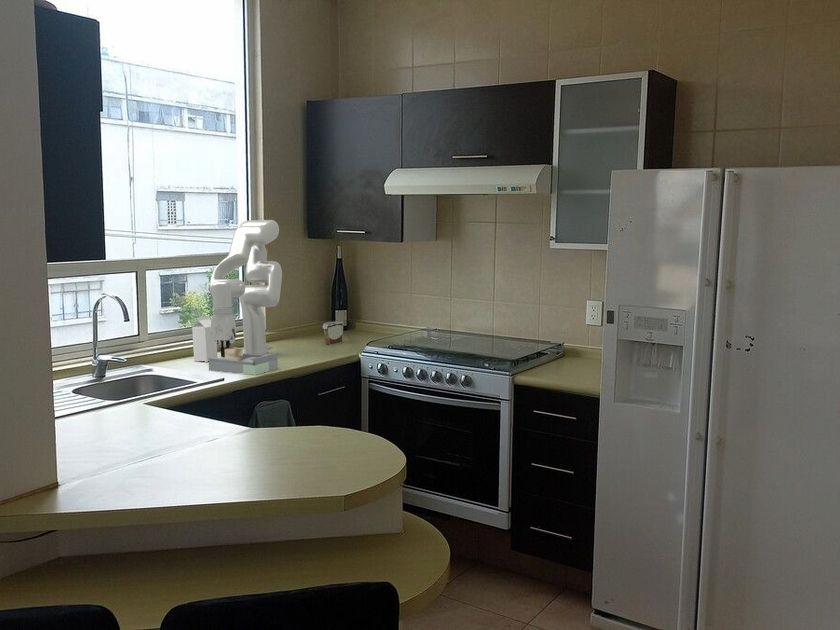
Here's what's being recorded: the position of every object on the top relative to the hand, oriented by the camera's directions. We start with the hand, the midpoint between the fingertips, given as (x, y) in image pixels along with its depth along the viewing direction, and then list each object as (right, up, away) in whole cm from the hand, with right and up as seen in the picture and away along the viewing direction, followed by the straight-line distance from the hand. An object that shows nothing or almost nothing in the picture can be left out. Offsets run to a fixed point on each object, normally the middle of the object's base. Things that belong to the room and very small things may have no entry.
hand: (225, 356), depth 327 cm
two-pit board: (+7, -5, 0) cm, 9 cm away
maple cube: (+4, -2, -2) cm, 5 cm away
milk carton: (-14, -3, +22) cm, 26 cm away
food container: (+36, +3, +60) cm, 70 cm away
